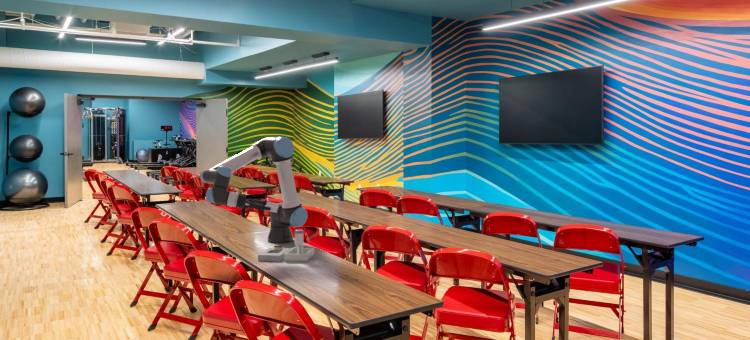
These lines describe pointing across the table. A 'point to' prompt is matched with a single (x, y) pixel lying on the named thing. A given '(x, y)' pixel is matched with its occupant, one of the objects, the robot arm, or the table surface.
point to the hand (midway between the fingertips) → (277, 208)
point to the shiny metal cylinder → (299, 241)
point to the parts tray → (298, 255)
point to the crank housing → (273, 254)
